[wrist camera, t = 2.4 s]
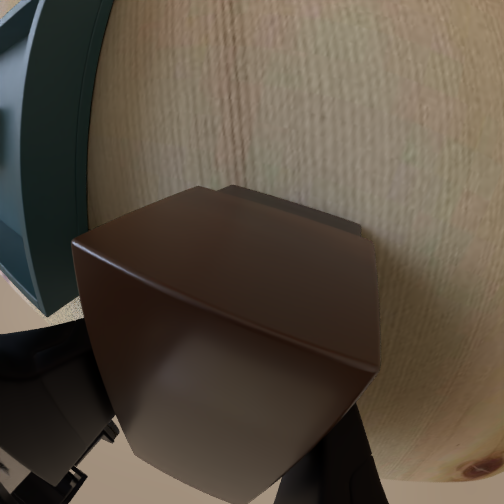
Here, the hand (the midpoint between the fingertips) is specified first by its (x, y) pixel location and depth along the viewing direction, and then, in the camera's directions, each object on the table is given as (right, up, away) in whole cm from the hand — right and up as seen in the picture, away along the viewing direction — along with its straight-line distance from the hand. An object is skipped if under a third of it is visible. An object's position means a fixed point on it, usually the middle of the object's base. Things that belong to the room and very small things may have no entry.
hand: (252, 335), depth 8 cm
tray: (-15, +10, +3) cm, 19 cm away
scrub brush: (0, 0, +1) cm, 1 cm away
